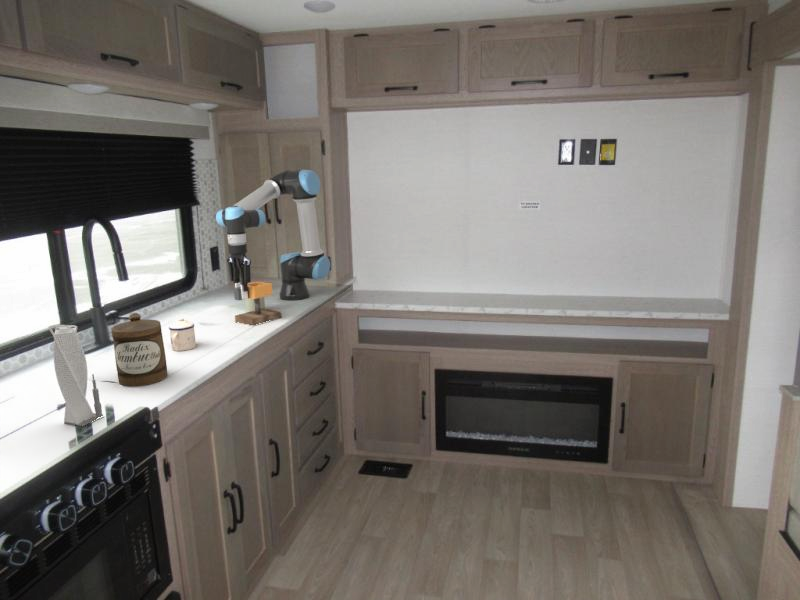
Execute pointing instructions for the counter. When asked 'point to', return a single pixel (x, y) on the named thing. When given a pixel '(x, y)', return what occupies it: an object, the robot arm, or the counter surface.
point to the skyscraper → (73, 376)
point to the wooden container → (139, 351)
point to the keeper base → (257, 315)
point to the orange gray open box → (255, 290)
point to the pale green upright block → (251, 306)
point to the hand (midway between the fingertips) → (242, 298)
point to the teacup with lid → (182, 335)
